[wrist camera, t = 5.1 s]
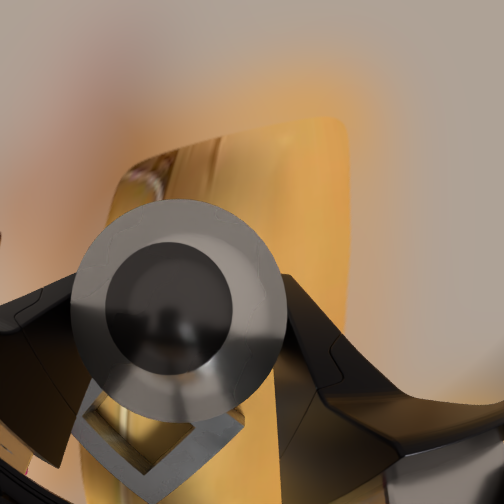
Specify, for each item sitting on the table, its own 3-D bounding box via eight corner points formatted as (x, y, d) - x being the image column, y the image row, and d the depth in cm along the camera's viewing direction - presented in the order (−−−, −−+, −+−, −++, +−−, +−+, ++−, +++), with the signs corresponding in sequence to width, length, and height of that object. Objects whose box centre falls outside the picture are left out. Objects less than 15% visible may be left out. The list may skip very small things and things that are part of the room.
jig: (159, 493, 17) (152, 506, 15) (66, 404, 19) (51, 409, 17) (244, 416, 20) (244, 426, 17) (135, 319, 22) (123, 317, 19)
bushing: (223, 383, 15) (182, 466, 4) (160, 327, 16) (37, 309, 5) (278, 319, 16) (336, 292, 6) (214, 266, 17) (166, 160, 6)
